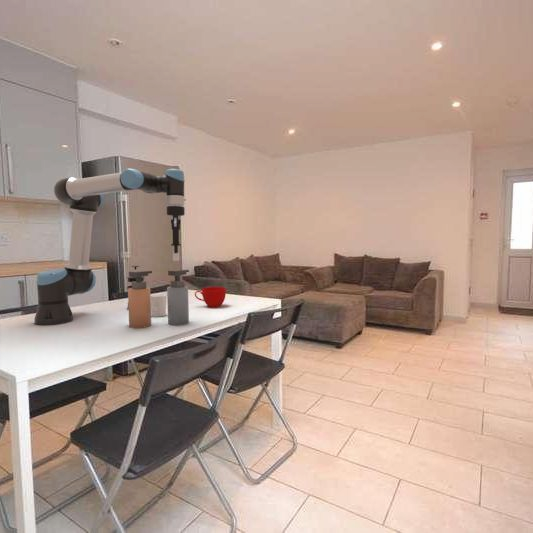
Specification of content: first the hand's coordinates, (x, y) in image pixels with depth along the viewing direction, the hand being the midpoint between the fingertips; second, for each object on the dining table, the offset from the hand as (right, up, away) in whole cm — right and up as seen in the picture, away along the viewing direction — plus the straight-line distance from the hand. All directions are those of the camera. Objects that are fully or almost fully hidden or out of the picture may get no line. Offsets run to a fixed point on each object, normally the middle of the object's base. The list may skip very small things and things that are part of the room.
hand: (176, 260), depth 156 cm
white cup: (-13, -27, +18) cm, 35 cm away
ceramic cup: (+9, -25, +41) cm, 48 cm away
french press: (-30, -25, +36) cm, 53 cm away
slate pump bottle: (+1, -28, +2) cm, 28 cm away
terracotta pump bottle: (-15, -28, -2) cm, 32 cm away
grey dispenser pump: (-14, -12, -2) cm, 18 cm away
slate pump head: (+1, -11, +2) cm, 11 cm away
